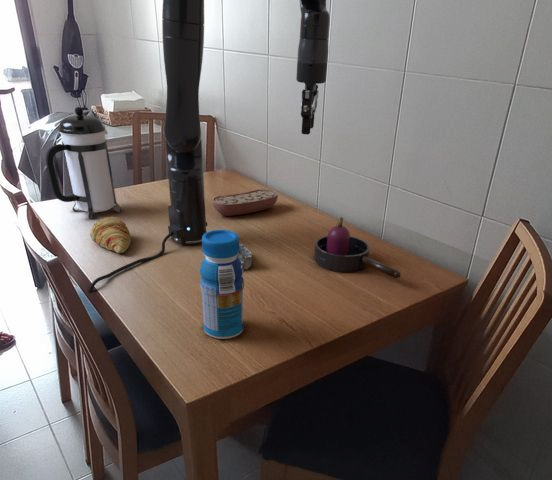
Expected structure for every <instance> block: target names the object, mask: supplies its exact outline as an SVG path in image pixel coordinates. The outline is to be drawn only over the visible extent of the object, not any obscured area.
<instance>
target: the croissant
mask: <svg viewBox="0 0 552 480" xmlns="http://www.w3.org/2000/svg"><path fill="white" fill-rule="evenodd" d="M89 236H90V239H91V240H92V241H93V242H94V243H96V244H97V246H100V247H102V248H104V249H107V250H109V251H112V252H114V253H117V254H123V253H125V252H126V251H127V250H128V249H129V247H130V245H131V240H132V238H131V237H132V236H131V233H130V229H129V228H128V226H127V224H126V223H125V221H123V220H122V219H119V218H118V217H114V216H111V215H109V216H106V217H103V218H101V219H98V220H97V221H96V222H95V223H94V224H93V227H91V230H90V233H89Z"/></svg>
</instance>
